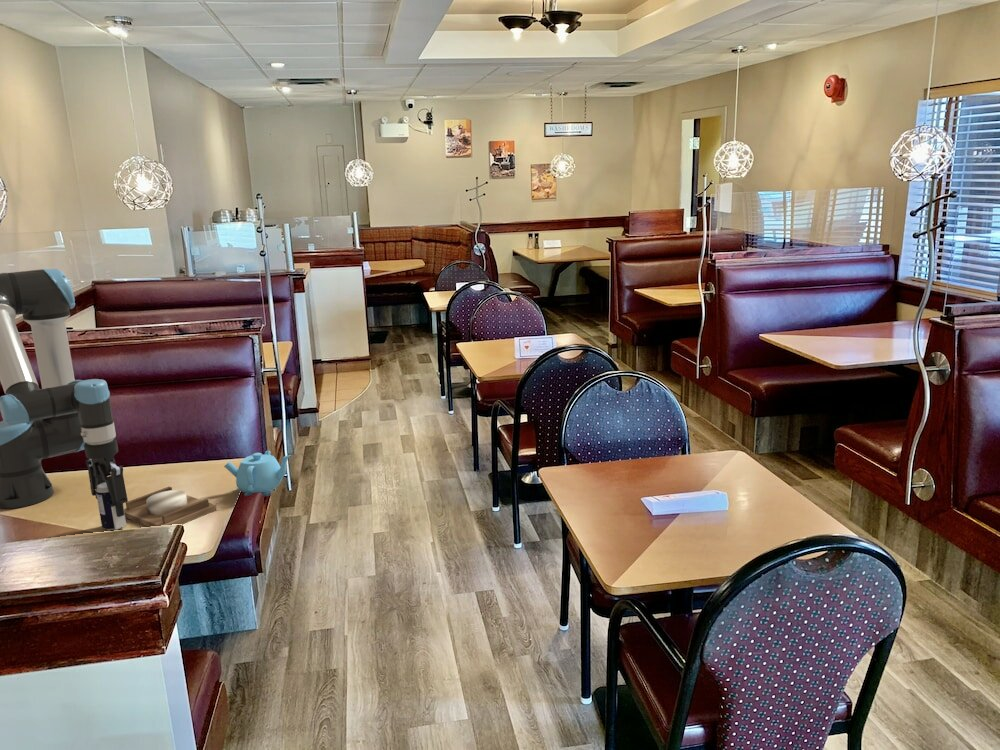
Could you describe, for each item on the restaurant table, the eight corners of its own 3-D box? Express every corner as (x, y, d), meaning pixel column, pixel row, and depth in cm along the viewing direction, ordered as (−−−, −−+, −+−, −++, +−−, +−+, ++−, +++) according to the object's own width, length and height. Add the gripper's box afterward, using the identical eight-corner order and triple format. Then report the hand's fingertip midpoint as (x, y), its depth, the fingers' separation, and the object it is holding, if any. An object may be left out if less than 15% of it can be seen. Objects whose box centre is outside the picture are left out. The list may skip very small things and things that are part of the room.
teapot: (277, 477, 234) (273, 441, 231) (295, 490, 223) (291, 453, 220) (226, 490, 225) (221, 453, 222) (243, 504, 214) (238, 466, 212)
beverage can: (116, 532, 199) (109, 489, 196) (97, 531, 200) (90, 488, 197) (131, 523, 204) (124, 480, 202) (112, 522, 206) (105, 479, 203)
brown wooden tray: (120, 515, 210) (117, 500, 209) (173, 495, 222) (171, 480, 221) (163, 532, 199) (160, 516, 197) (216, 510, 211) (214, 494, 210)
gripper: (66, 438, 199) (81, 521, 204) (105, 450, 188) (119, 538, 194) (95, 430, 205) (108, 511, 210) (134, 442, 194) (147, 527, 200)
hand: (114, 524), depth 202 cm, fingers closed on beverage can, 6 cm apart
